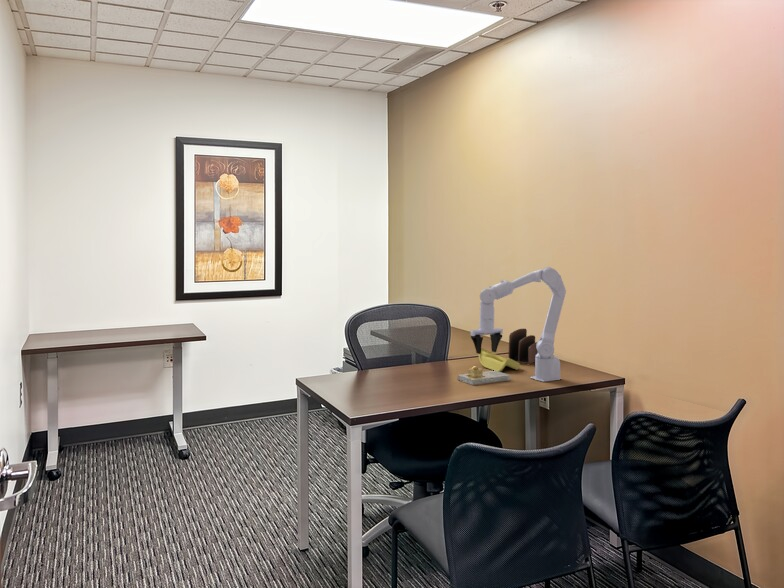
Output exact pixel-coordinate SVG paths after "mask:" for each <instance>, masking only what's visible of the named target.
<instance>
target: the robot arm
mask: <svg viewBox="0 0 784 588" xmlns="http://www.w3.org/2000/svg"><path fill="white" fill-rule="evenodd" d="M533 282H535V283H542V282H543V283H545V285H547V286H548V288H549V289H550V292H552V295H551V298H550V302H549V307H548V310H547V315H546V318H545V321H544V325H543V330H542V332H541V334H540V338H539V339H538V340H537V341H536V342H537V344H536V348H537V350H538V353H537V354H536V355H535V356H536V357H535V362H534V363H535V366H534V375H533V376H530V377H529V378H530V379H532V380H536V381H539V382H543V383H545V382H552V381H553V382H554V381H559V380H560V379H561V380H562V377H561V361H560V358H559V357H557V356H556V355H554V353H555V348H554V343H555V335H556V332H557V328H558V323H559V320H560V316H561V312H562V309H563V305H564V300H565V297H566V293H567V290H566V287H565V284H564V281H563V278H562V275H561V274H560V273H559V272H558V271H557V270H556V269H555V268H552V267H550V266H547V267H544V268H540V269H537V270H534V271H531V272H529V273H527V274H525V275H523V276H520V277H518V278H516V279H514V280H512V281H509V280H508V279H507V280H504V279H502V280H500V281H499V283H497V284H496V283H495V284H494V285H488V288H484V289H482V290H481V292H480V294H479V299H480V301H479V302H480V303H479V306H480V307H479V328H478V329H474V330H469V331H470V334H469V336H470V339H471V341H472V343H473V345H474V348H475V352H476V353H475V354H478V355H479V354H481V348H482V344H483V339H484V337H483V336H487V335H489V337H490V341H491V344H490V345H491V353H496V352H497V351H498V347H499V344H500V342H501V340H502V339H503V334H504V332H503V328H500V327H499V328H495V306H494V303H495V302H494V301H495V300H500V299H502V298H504V297H507V296H509V295H512V294H513V293H514V290H515V289H517V288H521V287H522V286H525V285H527V284H531V283H533Z"/></svg>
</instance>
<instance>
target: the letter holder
mask: <svg viewBox="0 0 784 588" xmlns="http://www.w3.org/2000/svg"><path fill="white" fill-rule="evenodd" d="M527 332H528V330H527V329H526V328H519V329H516V330H514V331H512V332H510V334H509V336H508V357H507V358H510V359H512V360H514V361H516V362H518V363H520V365H527V364H529V365H531V364H533V362H534V363H535V357H536V356H535V355H536V354H537V353H538V350H537V348H536V344H537V342H538V341H536V336H535V335H532V334H530V335H527Z"/></svg>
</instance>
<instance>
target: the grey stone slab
mask: <svg viewBox="0 0 784 588" xmlns="http://www.w3.org/2000/svg"><path fill="white" fill-rule="evenodd" d="M457 380H458V381H459V380H460V382H463V383H465V384H469V385H471V386H475V385H484V384H485V385H486V384H493V383H501V382H506V381H507V382H508V381H511V375H510V374H508V373H505V372H503V371H500V372H498V371H495V370H494V371H493V370H488V371H486V370H485V371H483V377H481V378H471V377H468V373H463V374H457Z"/></svg>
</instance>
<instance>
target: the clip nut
mask: <svg viewBox="0 0 784 588" xmlns="http://www.w3.org/2000/svg"><path fill="white" fill-rule="evenodd" d="M483 372H484V370H483V368H479V366H478V365H477V366H476V365H475V366H472V367H469V368H468V371H467V374H468V377H471V378H481V377H483Z"/></svg>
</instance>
